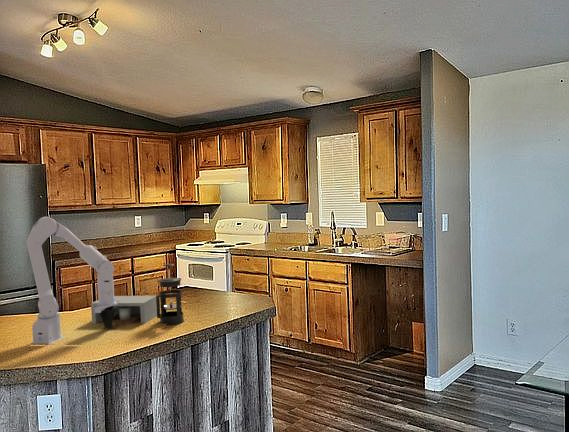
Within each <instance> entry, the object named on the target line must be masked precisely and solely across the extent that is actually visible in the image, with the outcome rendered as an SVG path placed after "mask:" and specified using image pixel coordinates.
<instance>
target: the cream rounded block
mask: <svg viewBox="0 0 569 432" xmlns="http://www.w3.org/2000/svg"><path fill="white" fill-rule="evenodd" d="M119 314H120V320H130V319H131V307H121V308H119Z"/></svg>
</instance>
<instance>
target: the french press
mask: <svg viewBox="0 0 569 432" xmlns="http://www.w3.org/2000/svg"><path fill="white" fill-rule="evenodd" d="M174 266H175V264H174V263H165V264H163V267H167V270H168V275H169V276H168V277H166V278H161V279H157V282H158V283H159V287H160V288H169V289H167V290H162V291H159V292H158V294H157V295H155V296H156V306H157V316H156V318H157V319H160V320H159V321H160V324H164V325H165V326H175V325H180V324H182V323H184V322H185V319H184V312H183V311H182V310H183V309H182V306H183V304H182V295H183V291H182V290H181V289H172V288H174V287H179V286H181V281H182V278H180V277H171V267H174ZM172 298H175V303H173V301H172ZM167 299H170V302H169V303H167Z"/></svg>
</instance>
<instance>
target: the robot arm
mask: <svg viewBox="0 0 569 432" xmlns="http://www.w3.org/2000/svg"><path fill="white" fill-rule="evenodd" d="M52 235H54V237H58V238H62V239H64V240H65V241H66V242H68V244H70V245H71V246H73V247H74V248H75V249H76V250H77V251H79V257H80V258H81V259H82V260H83V261H84V262H85V263H86V264H88V265H89V266H90V267H91V268H93V269H94V270H95V272H97V273H96V275H97V281H96V284H97V295H98V297H97V298H98V301H99V304H98V305H97V306H96V307H95V308H94V309H95V313H99V315H100V316H101V318H102V323H103V326H105V328H110V327H111V326H112V321H113V317H114V313H115V311H116V307H112V306H114V305H117V304H118V299H115V298H114V296H115V285H114V284H115V283H114V274H113V273H114V271H115V267H114V264H113V263H112V262H111V261H110V260H109V259H107V257H108V256H106V255H105V254H104V255H103V254H102V253H101V252H100V251H98V248H97V247H96V245H94V246H93V245H91V244H85V243H84V241H83V242H82V240H80V239H79V238H78V236H76V235H75V234H74V233H73V232H72V231H71V230H69V229H68V228H67V227H66V226H65V225H63V224H61V223H59V222H58V221H57V220H55V219H54V218H52V217H49V216H42V217H39V219H38V220H37V221H36V222H35V223H34V224H33V226H32V228H31V231H30V233H29V235H28V237H27V239H26V247H27V251H28V255H29V259H30V265H31V268H32V273H33V276H34V280H35V285H36V289H37V293H38V302H37V307H38V311H39V313H38V314H37V318H36V320H35V321H34V322H33V324H32V327H31V328H32V329H31V330H32V342H31V344H53V343H55V342H57V341H59V340H61V339H63V338H65V337H66V336H67V335H63V334H62V328H61V315H60V314H61V312H60V311H59V309H60V307H59V304H58V301H57V298H56V297H55V296H54V293H53V291H52V286H51V282H50V277H49V273H48V269H47V265H46V261H45V256H44V255H45V254H44V251H43V244H44V243H45V241H47V239H48V238H49V237H51V236H52Z"/></svg>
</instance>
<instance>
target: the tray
mask: <svg viewBox="0 0 569 432" xmlns="http://www.w3.org/2000/svg"><path fill="white" fill-rule="evenodd" d="M138 320H141V314H131V319H130V320H120V314H117V315H115V316H114V317H113V321H112V326H111V327H110V328H105V326H104V325H103V326H104V327H103V328H104V329H105V330H114V329H117V327H119V326H121V325H122V324H123V325H131V324H133V323H135V322H137V321H138Z"/></svg>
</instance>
